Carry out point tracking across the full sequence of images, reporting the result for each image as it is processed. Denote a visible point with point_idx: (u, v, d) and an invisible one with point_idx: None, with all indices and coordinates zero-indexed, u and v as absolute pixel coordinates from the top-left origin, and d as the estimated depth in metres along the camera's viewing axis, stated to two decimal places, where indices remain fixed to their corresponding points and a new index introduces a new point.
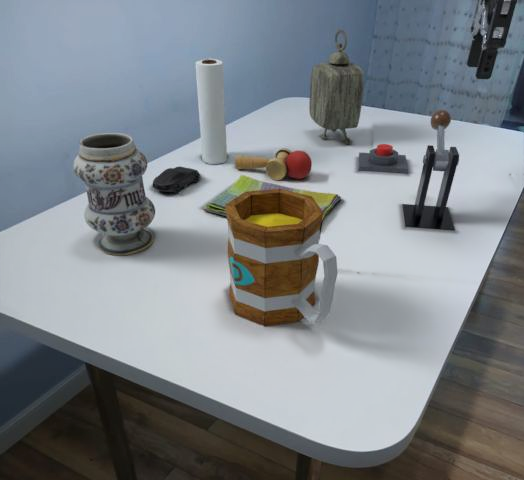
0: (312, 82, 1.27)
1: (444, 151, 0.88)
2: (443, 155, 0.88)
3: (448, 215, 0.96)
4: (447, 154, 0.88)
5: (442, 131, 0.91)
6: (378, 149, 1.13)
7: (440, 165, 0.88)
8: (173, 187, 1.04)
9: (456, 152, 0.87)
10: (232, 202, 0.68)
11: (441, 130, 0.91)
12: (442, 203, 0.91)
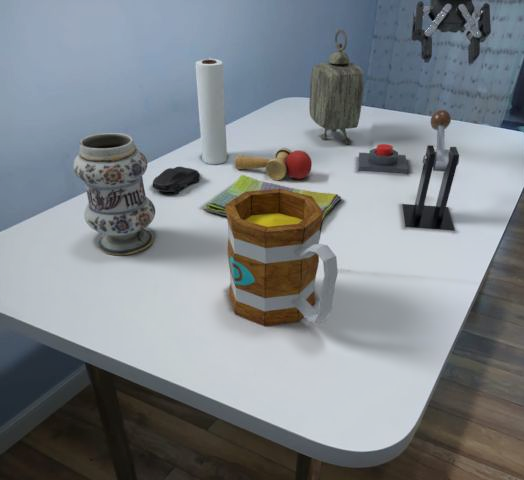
0: (312, 82, 1.27)
1: (444, 151, 0.88)
2: (443, 155, 0.88)
3: (448, 215, 0.96)
4: (447, 154, 0.88)
5: (442, 131, 0.91)
6: (378, 149, 1.13)
7: (440, 165, 0.88)
8: (173, 187, 1.04)
9: (456, 152, 0.87)
10: (232, 202, 0.68)
11: (441, 130, 0.91)
12: (442, 203, 0.91)
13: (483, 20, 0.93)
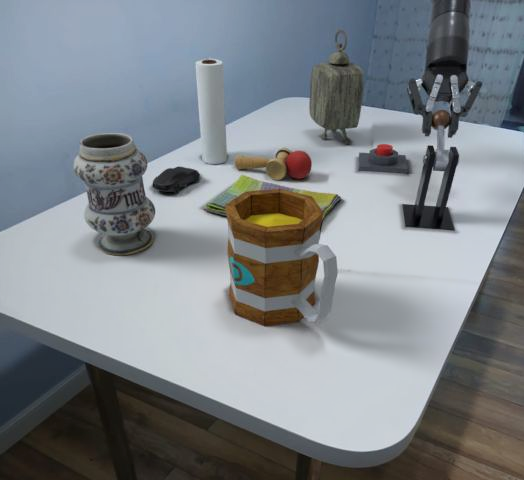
0: (312, 82, 1.27)
1: (444, 151, 0.88)
2: (443, 155, 0.88)
3: (448, 215, 0.96)
4: (447, 154, 0.88)
5: (442, 131, 0.91)
6: (378, 149, 1.13)
7: (440, 165, 0.88)
8: (173, 187, 1.04)
9: (456, 152, 0.87)
10: (232, 202, 0.68)
11: (441, 130, 0.91)
12: (442, 203, 0.91)
13: (469, 95, 0.91)
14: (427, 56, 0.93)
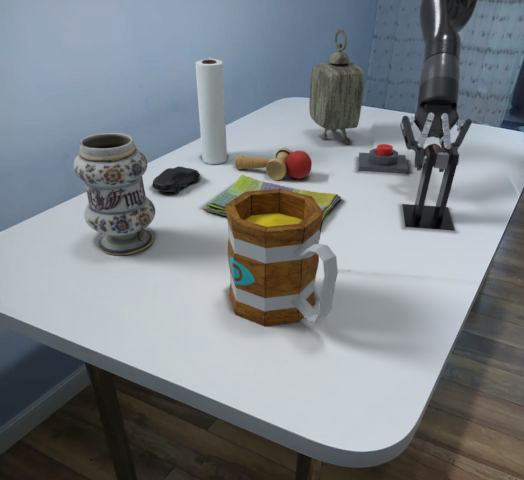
0: (312, 82, 1.27)
1: None
2: (443, 153, 0.88)
3: (448, 215, 0.96)
4: (446, 153, 0.88)
5: None
6: (378, 149, 1.13)
7: (441, 160, 0.87)
8: (173, 187, 1.04)
9: (456, 152, 0.87)
10: (232, 202, 0.68)
11: None
12: (442, 203, 0.91)
13: (459, 132, 0.96)
14: (419, 94, 0.98)
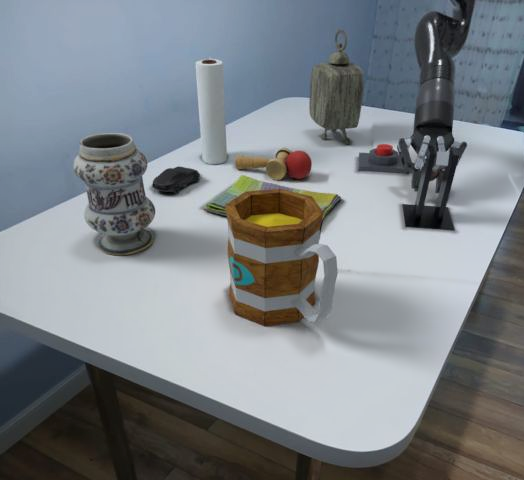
0: (312, 82, 1.27)
1: None
2: None
3: (448, 215, 0.96)
4: None
5: None
6: (378, 149, 1.13)
7: (442, 157, 0.87)
8: (173, 187, 1.04)
9: (456, 152, 0.87)
10: (232, 202, 0.68)
11: None
12: (442, 203, 0.91)
13: None
14: (415, 117, 1.00)
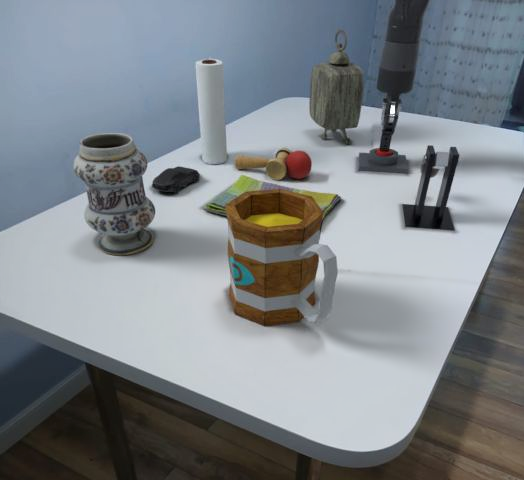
0: (312, 82, 1.27)
1: None
2: None
3: (448, 215, 0.96)
4: None
5: None
6: (377, 153, 1.14)
7: (442, 158, 0.87)
8: (173, 187, 1.04)
9: (456, 152, 0.87)
10: (232, 202, 0.68)
11: None
12: (442, 203, 0.91)
13: None
14: (400, 82, 1.01)
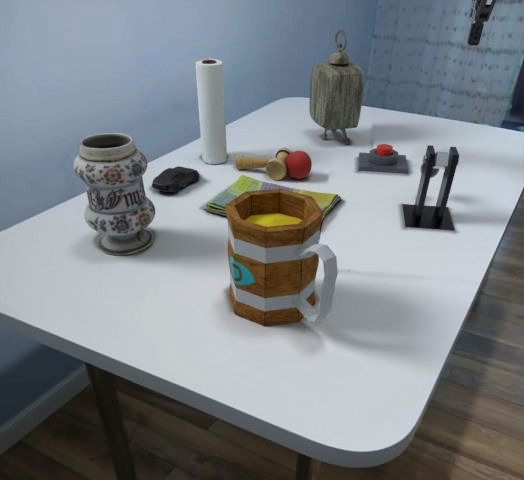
0: (312, 82, 1.27)
1: None
2: None
3: (448, 215, 0.96)
4: None
5: None
6: (378, 149, 1.13)
7: (442, 158, 0.87)
8: (173, 187, 1.04)
9: (456, 152, 0.87)
10: (232, 202, 0.68)
11: None
12: (442, 203, 0.91)
13: None
14: None
